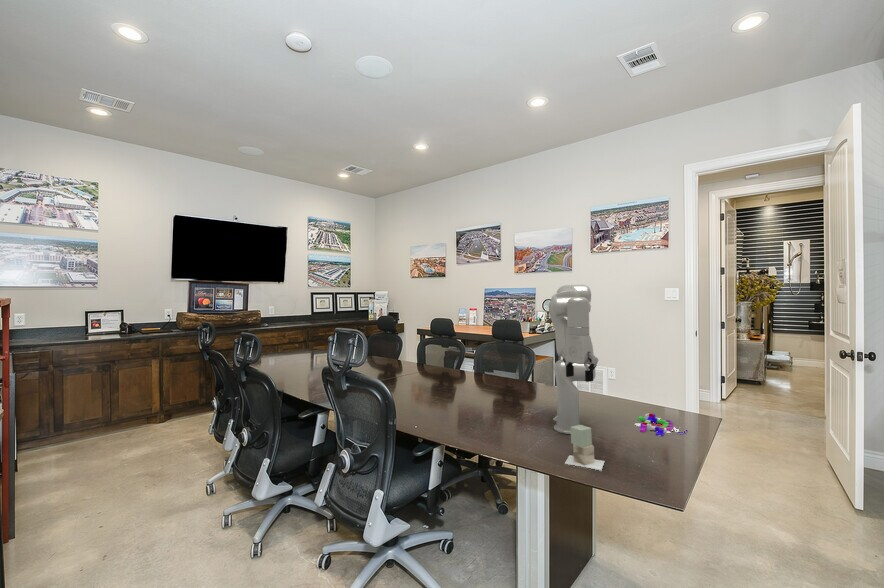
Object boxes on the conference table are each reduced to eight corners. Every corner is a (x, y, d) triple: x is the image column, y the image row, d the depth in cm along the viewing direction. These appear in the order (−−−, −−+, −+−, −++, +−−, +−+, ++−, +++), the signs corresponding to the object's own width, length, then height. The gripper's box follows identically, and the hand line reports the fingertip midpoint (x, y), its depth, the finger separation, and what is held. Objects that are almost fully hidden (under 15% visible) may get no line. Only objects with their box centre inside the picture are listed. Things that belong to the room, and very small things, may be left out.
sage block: (571, 443, 145) (570, 426, 145) (581, 440, 147) (580, 424, 147) (581, 447, 140) (580, 430, 140) (591, 444, 142) (591, 428, 143)
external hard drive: (601, 474, 136) (564, 467, 142) (604, 465, 143) (569, 458, 149) (601, 469, 136) (564, 462, 142) (604, 460, 143) (569, 454, 149)
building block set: (681, 441, 164) (681, 430, 164) (628, 431, 177) (628, 421, 177) (691, 425, 183) (691, 415, 183) (642, 417, 196) (642, 408, 196)
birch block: (573, 460, 144) (573, 444, 144) (583, 457, 146) (582, 441, 146) (584, 465, 139) (584, 448, 139) (594, 462, 142) (593, 445, 142)
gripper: (554, 330, 150) (555, 375, 150) (588, 334, 135) (589, 384, 134) (569, 329, 153) (570, 373, 153) (604, 333, 138) (605, 382, 138)
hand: (579, 378), depth 144 cm, fingers open, 9 cm apart
